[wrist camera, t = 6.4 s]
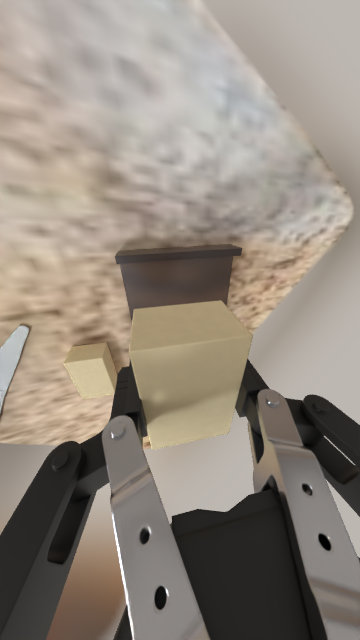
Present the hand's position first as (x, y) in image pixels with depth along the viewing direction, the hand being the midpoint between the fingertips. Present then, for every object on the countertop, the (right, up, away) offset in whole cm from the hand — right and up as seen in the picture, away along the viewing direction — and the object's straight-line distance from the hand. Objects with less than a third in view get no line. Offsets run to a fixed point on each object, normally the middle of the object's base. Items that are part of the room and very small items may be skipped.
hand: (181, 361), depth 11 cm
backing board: (0, +4, +15) cm, 15 cm away
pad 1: (-14, -4, +17) cm, 22 cm away
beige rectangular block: (0, 0, 0) cm, 0 cm away
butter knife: (-28, -8, +16) cm, 33 cm away
